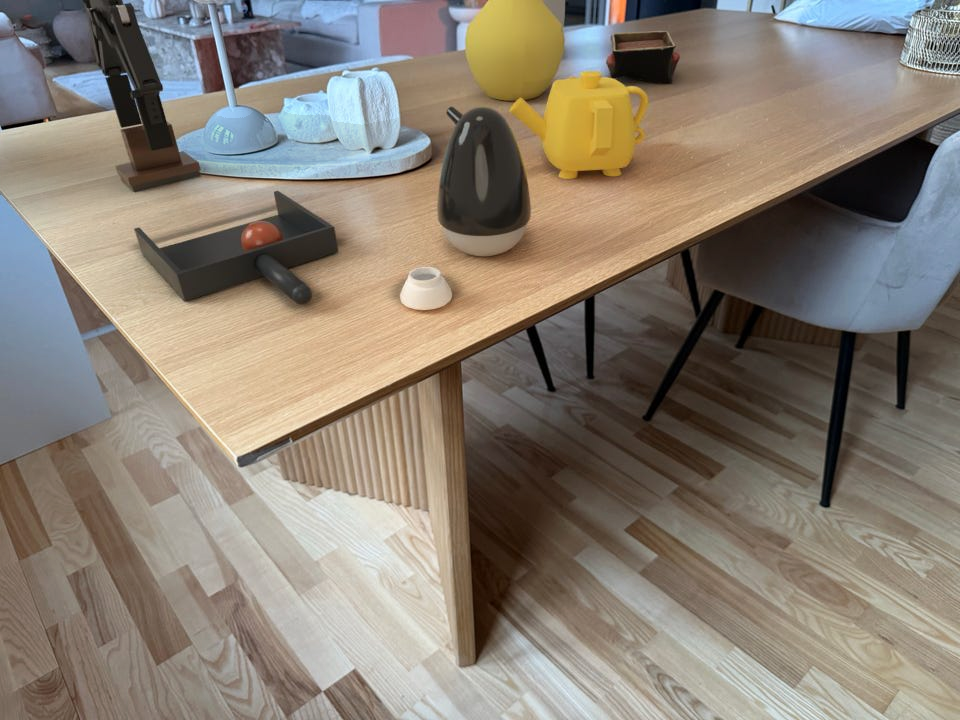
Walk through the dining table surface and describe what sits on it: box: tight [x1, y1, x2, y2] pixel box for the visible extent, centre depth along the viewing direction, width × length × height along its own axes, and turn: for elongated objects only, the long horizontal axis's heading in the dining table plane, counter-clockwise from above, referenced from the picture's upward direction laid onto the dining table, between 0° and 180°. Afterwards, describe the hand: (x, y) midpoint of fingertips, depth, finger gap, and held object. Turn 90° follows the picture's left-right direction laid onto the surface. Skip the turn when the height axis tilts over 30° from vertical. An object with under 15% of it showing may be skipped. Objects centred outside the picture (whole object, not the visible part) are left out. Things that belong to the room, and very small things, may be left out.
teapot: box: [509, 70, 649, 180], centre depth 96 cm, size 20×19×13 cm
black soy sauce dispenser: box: [436, 106, 532, 257], centre depth 74 cm, size 10×10×15 cm
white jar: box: [399, 266, 453, 311], centre depth 68 cm, size 5×3×5 cm
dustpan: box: [133, 190, 339, 305], centre depth 74 cm, size 25×17×3 cm
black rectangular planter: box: [605, 30, 681, 85], centre depth 141 cm, size 14×18×10 cm
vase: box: [464, 0, 566, 102], centre depth 125 cm, size 18×18×30 cm
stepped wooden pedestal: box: [114, 121, 202, 193], centre depth 95 cm, size 6×9×8 cm
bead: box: [241, 220, 283, 252], centre depth 76 cm, size 4×4×4 cm
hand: (145, 136), depth 93 cm, fingers open, 13 cm apart
